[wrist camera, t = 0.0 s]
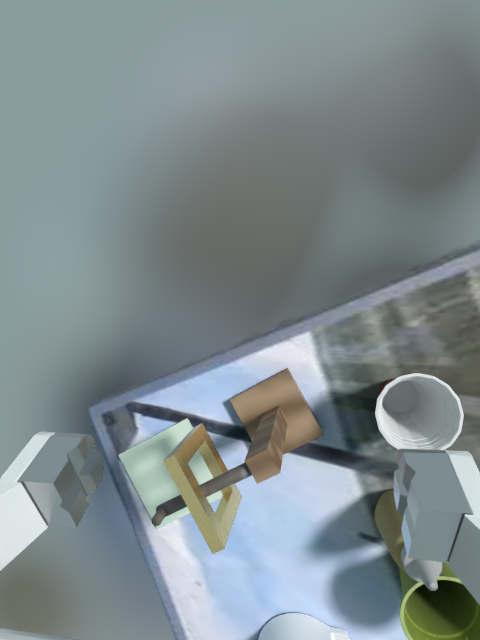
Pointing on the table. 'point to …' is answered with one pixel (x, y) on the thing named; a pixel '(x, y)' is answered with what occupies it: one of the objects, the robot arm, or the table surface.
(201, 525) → the yellow picture frame
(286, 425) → the hook stand
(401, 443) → the plastic cup
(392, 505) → the squeeze bottle
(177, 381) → the table surface
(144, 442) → the sage mat
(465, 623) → the plant pot
